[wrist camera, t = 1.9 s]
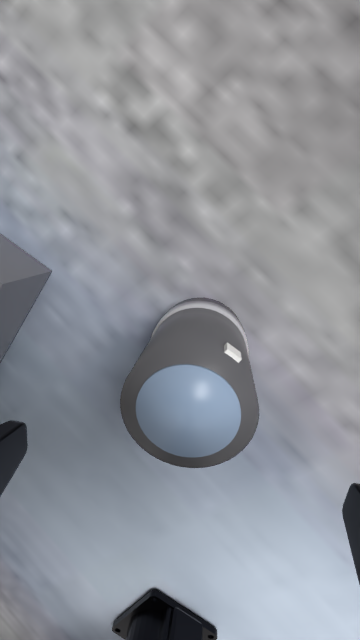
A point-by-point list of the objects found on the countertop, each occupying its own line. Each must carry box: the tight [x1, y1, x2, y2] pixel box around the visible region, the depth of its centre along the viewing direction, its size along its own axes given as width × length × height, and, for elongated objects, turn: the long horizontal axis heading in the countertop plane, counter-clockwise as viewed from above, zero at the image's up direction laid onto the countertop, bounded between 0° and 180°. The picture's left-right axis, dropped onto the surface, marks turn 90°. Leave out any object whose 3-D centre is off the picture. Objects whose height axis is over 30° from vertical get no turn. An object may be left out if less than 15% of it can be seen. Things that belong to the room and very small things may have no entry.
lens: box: [120, 298, 259, 468], centre depth 14 cm, size 5×5×7 cm
